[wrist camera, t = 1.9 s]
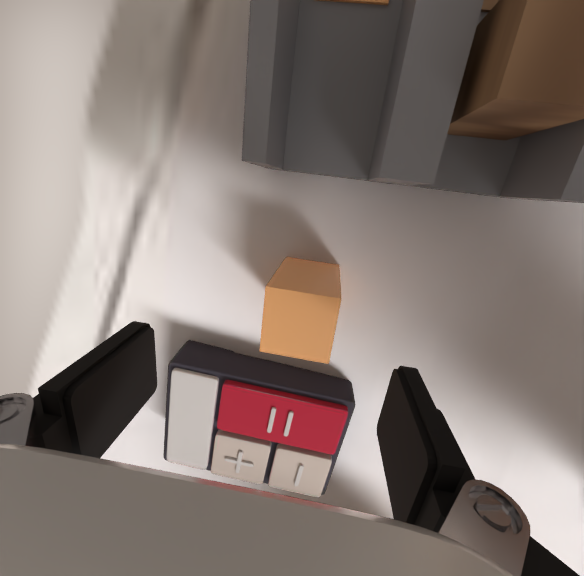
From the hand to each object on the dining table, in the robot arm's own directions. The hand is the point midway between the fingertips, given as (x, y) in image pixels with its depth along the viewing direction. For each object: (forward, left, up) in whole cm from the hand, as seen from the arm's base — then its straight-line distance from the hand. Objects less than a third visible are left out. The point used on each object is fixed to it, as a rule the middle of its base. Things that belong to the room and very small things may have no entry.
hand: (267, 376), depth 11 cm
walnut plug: (-9, -13, -11) cm, 19 cm away
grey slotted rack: (-5, -13, -12) cm, 18 cm away
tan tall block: (-1, 0, -12) cm, 12 cm away
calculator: (+2, +13, -13) cm, 18 cm away
